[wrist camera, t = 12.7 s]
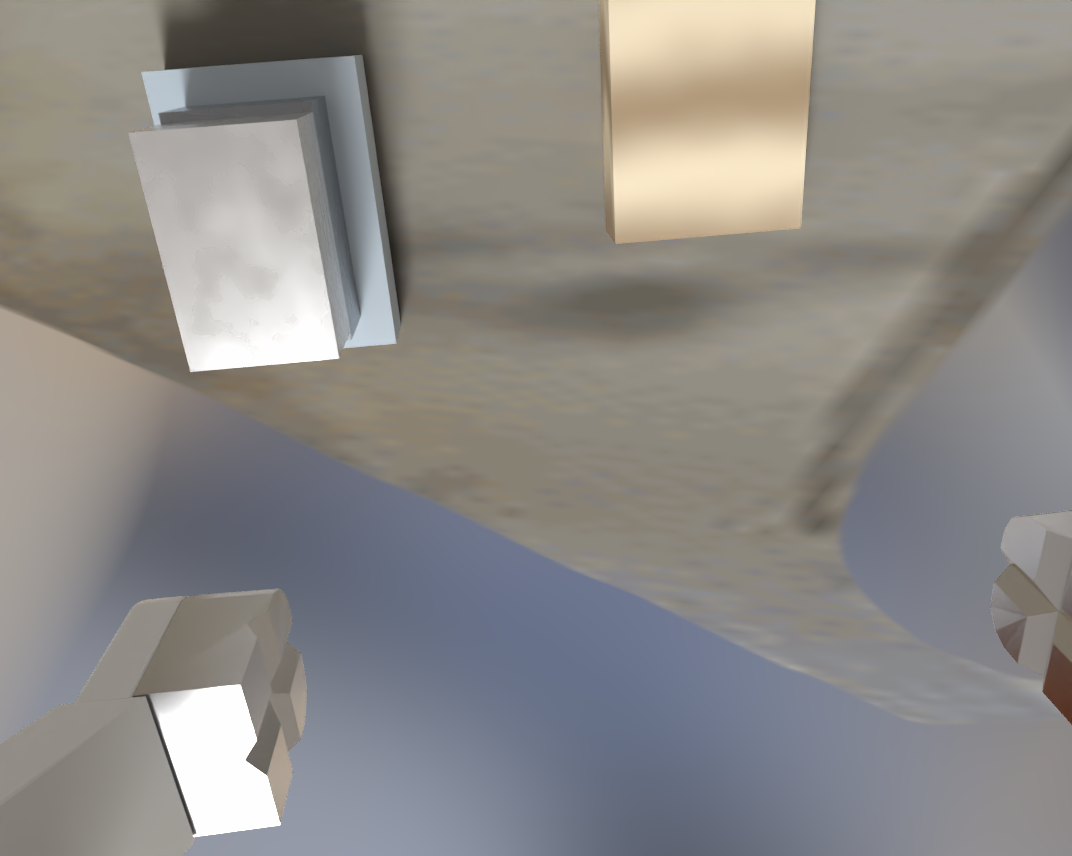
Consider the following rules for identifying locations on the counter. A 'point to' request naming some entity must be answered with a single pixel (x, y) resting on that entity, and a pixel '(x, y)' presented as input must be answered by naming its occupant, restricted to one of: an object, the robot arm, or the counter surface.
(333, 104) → the stand
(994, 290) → the counter surface
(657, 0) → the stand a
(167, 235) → the block
